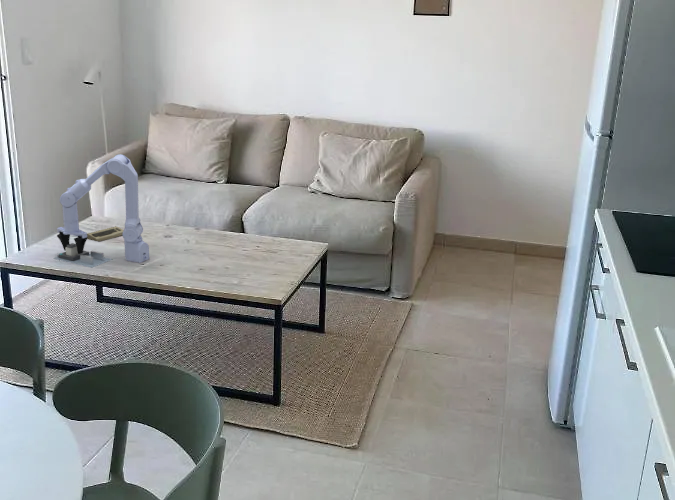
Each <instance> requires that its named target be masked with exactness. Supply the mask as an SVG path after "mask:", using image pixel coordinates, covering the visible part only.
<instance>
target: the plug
mask: <svg viewBox="0 0 675 500" xmlns="http://www.w3.org/2000/svg"><path fill="white" fill-rule="evenodd" d="M65 250H66V251H65V252H66V255H69V256H75V255H78V252H77V246H76V243H73V242H72V243H69V244H68V245H67V247H65Z"/></svg>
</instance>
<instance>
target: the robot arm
mask: <svg viewBox="0 0 675 500" xmlns="http://www.w3.org/2000/svg"><path fill="white" fill-rule="evenodd" d="M110 174H112V175H114V176H117V177H119V178H121V180H123V181H124V191H125V192H124V193H125V221H124V229H123V230H124V231H123V234H122V235H123V236H122V238H123V243H124V255H125V256H124V257H125V261H128V262H133V263H134V262H135V263H140V264H141V263H143V262H145V261H147V260H150V247H149V243H147V242H145V241H144V240H143V238H142V234H143V232H144V227H143V225H142V222H141V218H140V217H139V216H140V211H139V206H140V205H139V175H138V172H137V170H135V168H134V166H133V164H132V162H131V159H130V158H128V157H127V156H126V155H124V154H120V153H119V154H116V155H115V156H113V157H111V158H110V159H108V160H106V161H105V162H104V163H102V164H101V165H99V166H98V167H97V168H96V169H95V170H94V171H93V172H91V174H89V175H88V176H87V178H80V179H76V180H75V181H74V182H75V183H74V184H73V185H72V186H71V187H67V188H66V191H65V192H63V193H62V194H61V195H60V197H59V203H60V204H61V205H62V207H61V208H62V220H63V226H59V227H57V228H56V230H57V233H58V234H56V237H57V238H58V240H59V241H60V243H61V245H62V248H63V251H65V252H66V250H65V247H67V245H68V244H70V239H71V236H75V237H74V238H73V241H74V242H75V243H74V244H76V246H77V252H78V254H81V253H83V251H84V249H85V245H86V243H87V240H88V239H87V238H88V237H87V233H88V232H86V231H83V230H81V229H80V224H79V212H78V201H79V200H80V199H82V198H83V197H84V196H85V195H86V194H88V193H89V192H90V191H91V190H92V184H94V183H95V182H96V181H97V180H99V179H100V178H101V177H103V176H104V175H110Z"/></svg>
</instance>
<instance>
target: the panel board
mask: <svg viewBox="0 0 675 500" xmlns="http://www.w3.org/2000/svg"><path fill="white" fill-rule="evenodd" d="M89 256H91V253H89ZM53 259H54V260H58V261H62V262H66V263H70V264H75V265H79V266H83V267H87V268H90V269H93V268H96V267H98V266H100V265H102V264H105V263H108V262H110V261H112V260H113V258H110V257H106V256H104V260H97V259H93V263H94V264H92V265H91V264H87V263H83V262H81V261H80V259H78V260H76V261H69V260H65V259H61V258H59V257H58V256H56V257H53Z"/></svg>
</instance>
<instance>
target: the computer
mask: <svg viewBox="0 0 675 500" xmlns="http://www.w3.org/2000/svg"><path fill="white" fill-rule="evenodd" d="M123 231H124V229H123V228H120V227H118V226H111V227H107V228H103V229H100V230H99V229H98V230H95V231H92V232H86V233H87V237H88V238H87V240H89V241H93V242H98V243H99V242H103V241H104V242H105V241H108V240H110V239H115V238H119V237H123V235H122V234H123Z"/></svg>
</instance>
